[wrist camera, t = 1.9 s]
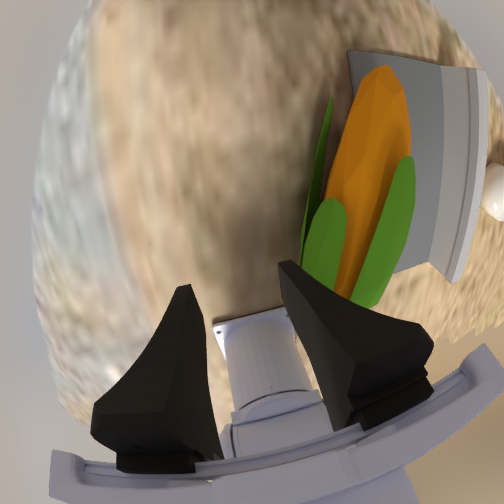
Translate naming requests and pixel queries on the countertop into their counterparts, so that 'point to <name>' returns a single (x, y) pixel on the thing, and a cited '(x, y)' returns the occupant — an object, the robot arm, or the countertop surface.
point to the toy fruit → (362, 194)
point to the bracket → (439, 155)
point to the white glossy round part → (493, 191)
